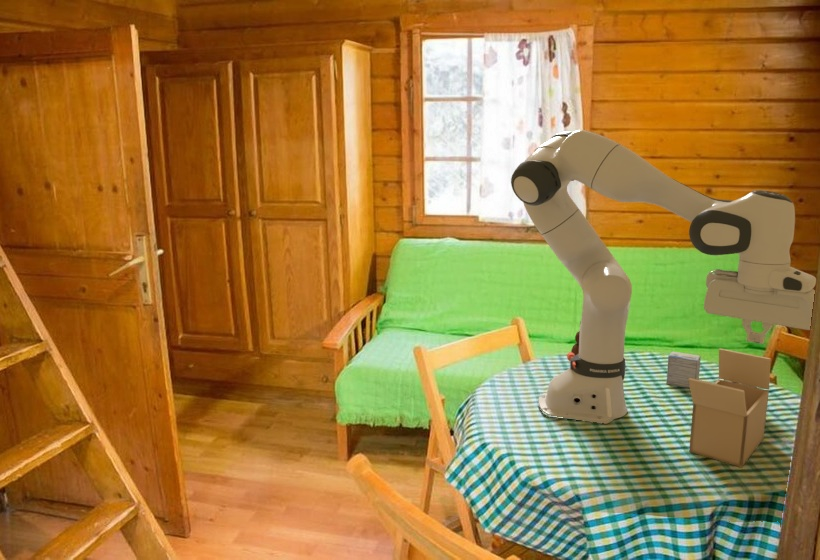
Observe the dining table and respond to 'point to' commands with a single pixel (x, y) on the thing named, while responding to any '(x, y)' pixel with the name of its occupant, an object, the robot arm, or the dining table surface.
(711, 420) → the carton
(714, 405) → the front flap
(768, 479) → the dining table surface
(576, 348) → the wooden figurine
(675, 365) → the medicine box
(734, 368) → the back flap
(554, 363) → the dining table surface
